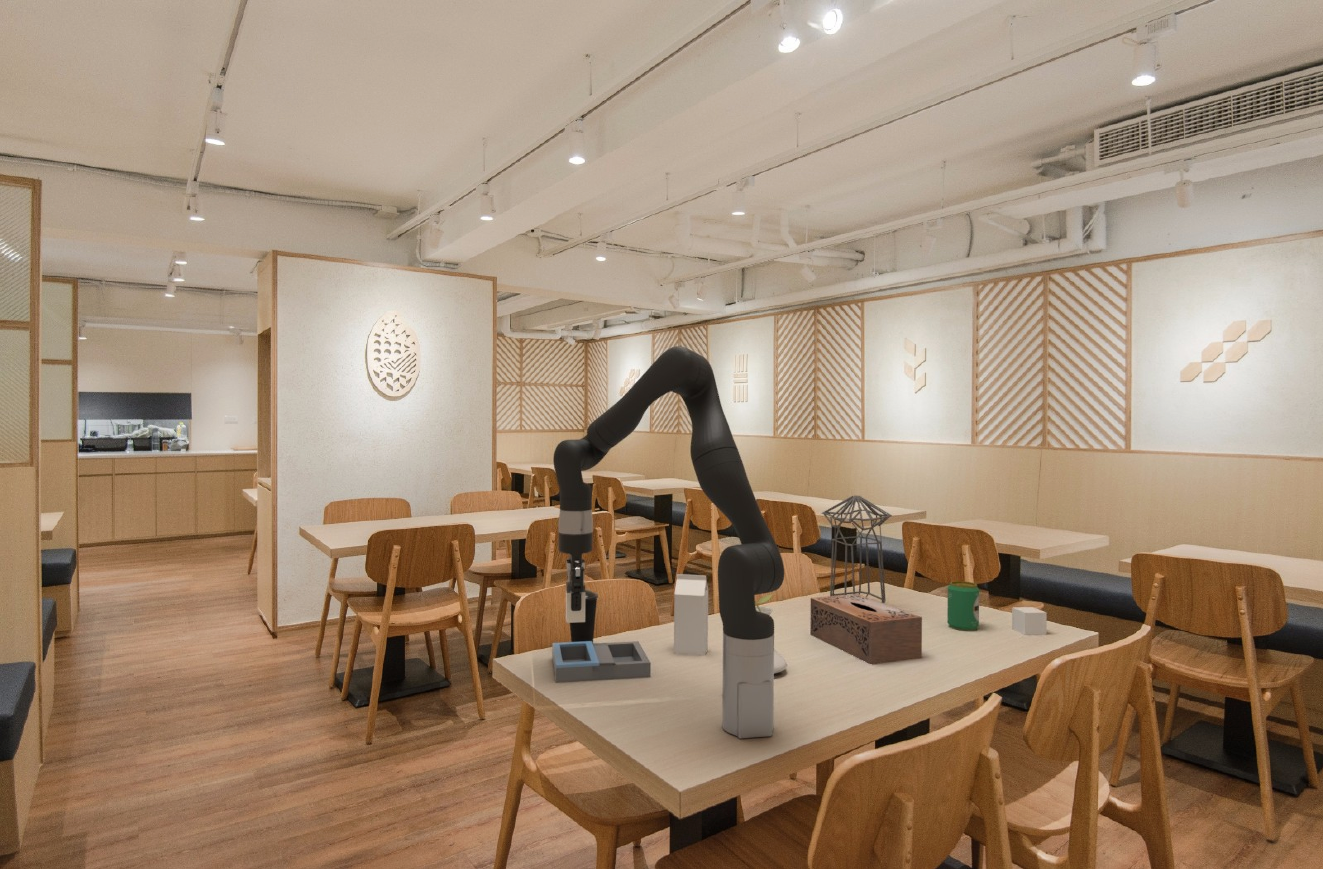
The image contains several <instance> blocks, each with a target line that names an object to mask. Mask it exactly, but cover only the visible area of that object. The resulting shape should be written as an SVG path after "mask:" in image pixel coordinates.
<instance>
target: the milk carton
mask: <svg viewBox="0 0 1323 869" xmlns="http://www.w3.org/2000/svg"><path fill="white" fill-rule="evenodd" d="M675 581H676V582H675V588H674V593H673V598H674V599H673V600H674V601H673V602H674V604H673V607H674V608H673V610H674V611H673V613H674V614H673V616H674V617H673V654H677V655H692V656H694V655H695V656H704V655H706V654H707V651H708V650H709V643H708V642H709V587H708V581H707V575H702V574H700V575H699V574H684V573H683V574H682V573H681V574H679V573H677V574H676V580H675Z"/></svg>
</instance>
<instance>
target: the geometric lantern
mask: <svg viewBox="0 0 1323 869" xmlns="http://www.w3.org/2000/svg"><path fill="white" fill-rule="evenodd" d="M856 503H857V508H858V509H856V510H855V506H856ZM843 504H844V505H843ZM840 506H841V507H840ZM838 507H840V508H839V509H838V510H837V511H833V510H834V509H836V508H838ZM861 507H862V508H863V509H862V508H861ZM846 510H847V511H846ZM863 511H864V512H865V513H866V515H867V516H868V518H863V515H862V512H863ZM854 513H856V514H855V515H854V516H853V514H854ZM821 515H823V516H824V517H825V518H826V519H827V521H828V522H829V524H830V527H832V528H834V538H832V539H831V541H832V542H831V560H830V563H831V567H830V587H829V588H830V591H829V596H839V595H850V594H859V595H861V594H863V595H866V596H865V597H867V598H868V597H869V595H870V596H872V597H874V598H876V599H879V600H881V601H880V602H881V603H884V604H886V601H887V600H886V586H885V573H884V572H885V571H884V570H885V569H884V556H883V544H882V543H883V540H882V528H881V526H882V525H883V524H884V523H885V522H886V521H887V520H888V519H889V518H890V517H892V516H893V515H892V514H890V513H888V512H887V511H886V510H883V509H882V508H881V507H880V506H877V505H875V504H874V503H872V502H871V501H869V500H867V499H866V498H864V497H862V496H861V495H851V496H849V497H847V498H846V499H845V500H842V501H841V502H839V503H837V504H835V505H833V506H832V507H830V508H828V509H826V510H824V511H823V512H821ZM843 515H844V517H843ZM848 515H849V518H848ZM872 515H873V516H875V518H873V516H872ZM828 516H829V517H830V518H829V517H828ZM858 516H859V517H858ZM833 520H834V523H833ZM878 520H879V521H878ZM837 521H838V522H839V523H838V524H837ZM856 521H861V525H859V523H857V522H856ZM868 521H870V525H871V526H870V527H864V522H868ZM843 523H845V524H852V526H853V527H854V528H855V530H857V532H858V535H856V536H847V537H846V536H844V535H843V533H842V531H841V526H842V524H843ZM877 526H878V527H879V537H880V540H879V539H878V537H877V535H876V532H875V527H877ZM857 527H858V528H857ZM836 529H837V530H836ZM859 529H860V530H861V531H860V530H859ZM867 530H868V531H867ZM863 531H867V533H866V535H865V536H864V535H862V533H863ZM871 531H872V534H873V536H874V538H875V539H874V538H871V537H869V536H870V533H871ZM839 535H840V536H841V537H838V536H839ZM846 539H854V540H853V542H852V544H851V543H847V541H846ZM858 539H859V543H856V541H857V540H858ZM863 539H865V542H863ZM839 540H843V541H839ZM868 540H872V541H875V542H868ZM838 543H839V544H842V545H845V546H844V547H845V548H844V549H845V553H844V554H845V556H844V561H845V562H844V592H839V593H835V586H836V585H835V584H836V582H835V580H836V566H837V565H836V564H837V554H838V553H837V552H838V548H837V547H838ZM868 545H876V549H877V560H878V561H877V562H878V563H877V564H878V573H879V584H880V594H881V595H880V596H881V597H880V596H878V595H875V594H874V593H871V591H870V590H871V588H870V587H871V586H870V566H869V563H870V562H869V547H868ZM854 546H859V577H858V578H859V579H858V580H859V583H858V584H859V585H858V590H857V591H856V585H855V584H856V582H855V581H856V580H855V564H854V563H855V562H854ZM863 546H865V556H866V578H867V592H866V591H862V560H863V559H862V554H863V553H862V552H863ZM848 547H850V551H851V553H850V556H851V557H850V558H851V575H852V576H851V577H852V591H850V592H847V588H848V587H847V582H848V581H847V580H848V579H847V578H848V577H847V576H848V573H847V572H848Z"/></svg>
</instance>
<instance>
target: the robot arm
mask: <svg viewBox="0 0 1323 869" xmlns="http://www.w3.org/2000/svg"><path fill="white" fill-rule="evenodd" d="M670 392H672V393H674V394H676V395H679V396H680V397H681V399H682V400H683V402H684V404H685V407H686V409H687V411H688V415H689V417H690V418H689V419H690V421H691V429H692V430H691V437H690V438H691V439H690V448H689V449H690V450H689V451H690V459H691V463H692V466H693V469H694V473H695V475H696V476H695V477H696V479H697V481H698V484H699V487H700V489H701V490H702V493H704V495H705V496H706V498H708V499H709V501H710V502H712V504H713V505H714V506H715V507H716V508H717V509H718V510H719V511H720V512H721V513H722V514H723V515H724V516H725V517H726V518H727V520H728V521H729V522H730V523H731V525H732V527H733V528H734V530H735V532H736V534H737V536H738V540H739V541H740V544H734V545H729V546H726V548H724V549H723V551H722V552H721V554H720V555H719V559H718V564H717V588H718V590H717V591H718V608H719V609H718V610H719V616H720V619H721V623H722V690H721V691H722V694H721V696H722V699H721V700H722V702H721V704H722V707H721V708H722V709H721V710H722V712H721V714H722V715H721V718H722V719H721V723H722V724H721V725H722V728H723V730H724V731H725V732H727V733H728V734H731V735H733V736H735V737H737V738H739V739H750V738H751V739H752V738H762V737H772V736H773V732H774V731H773V730H774V726H775V725H774V723H775V722H774V714H775V713H774V710H775V708H774V704H775V703H774V700H775V699H774V698H775V697H774V696H775V694H774V691H775V690H774V689H775V687H774V686H775V682H774V680H775V675H774V649H775V621H774V618H773V617H772V616H771V614H770V615H768V614H765V613H762V612H758V611H757V610H756V607H757V606H756V604H755V601H756V600H755V598H756V597H755V596H757V595H762V594H763V595H764V594H768V593H773V592H776V591H777V590H779V589H780V588H781V586H782V585H783V582H784V579H785V565H784V562H783V557H782V555H781V553H780V550H779V548H778V545H777V543H776V541H775V538H774V536H773V535H772V532H771V530H770V528H769V527H768V525H767V522H766V520H765V518H764V516H763V514H762V512H761V509H760V507H759V504H758V501H757V499H756V497H755V493H754V492H753V489H752V486H751V484H750V481H749V478H748V475H747V472H746V469H745V465H744V463H743V460H742V457H741V454H740V451H739V449H738V446H737V443H736V441H735V438H734V436H733V433H732V431H731V428H730V425H729V423H728V420H727V417H726V414H725V412H724V410H723V406H722V403H721V399H720V394H719V390H718V386H717V381H716V377H715V374H714V370H713V368H712V365H711V364H710V362H709V360H707V359H706V357H704V356H703V355H701V354H699V353H697V352H695V351H693V350H691V349H690V348H687V347H685V346H681V345H680V346H679V345H678V346H677V345H675V346H671V347H669V348H668V349H667V350H665V351H664V352H662V354H661V355H659V357H658V358H656V360H654V362H653V363H652V364H651V365H650V366H649V368H647V370H646V371H645V372H644V373H643V374H642V375H641V376H640V377H639V378H638V379H637V381H636V382H635V383H634V384H633V385H632V386H631V387H630V388H629V390H628V391H627V392H626V393H625V394H624V395H623V396H622V397H621V398H620V399H619V400H617V402H615V404H612V406H611V407H609V408H608V409H607V410H606V411H604V412H603V413H602V414H601V415H599V416H598V417H597V418H596V419H594V420H593V421H592V422H591V423H590V424H589V425H588V427H587V430H586V434H585V435H584V436H583V437H581V438H579V439H564V440H562V441H560V442H559V443H558V444H557V445H556V447H555V449H554V453H553V462H552V463H553V468H554V472H555V478H556V481H557V485H558V488H559V514H558V515H559V516H558V544H557V545H558V546H557V547H558V551H559V552H560V553H562V554H565V555H567V554H569V557H567V559H565V566H566V578H567V582H569V583H570V584H571V590H570V592H571V610H572V611H580V610H581V593H582V592H583V582H584V583H585V569H586V561H585V558H583V554H589V553H591V552H593V549H594V548H593V547H594V519H593V490H592V486H591V485H590V484H589V483H587V482H584V478H583V473H582V472H584V471H588V470H591V469H592V468H594V467H596V466H597V465H598V464H600V462H601V461H602V460H603V459H604V458H605V456H607V455H608V453H609V452H610V451H611V449H612V448H614V447H616V446H617V445H618V444H619V443H621V442H622V441H623V440H624V439H626V438H627V437H628V436H630V435H631V434H632V433H633V432H634V430H636V428H637V427H638V426H639V424H640V423H641V420H642V419H643V416H644V415H645V413H646V411H647V409H649V407H650V406H651V405H652V404H653V403H655V401H656V400H658V399H659V398H662V397H663V396H664V395H666V394H668V393H670ZM575 583H580V587H574V584H575Z"/></svg>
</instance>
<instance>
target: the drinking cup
mask: <svg viewBox="0 0 1323 869" xmlns="http://www.w3.org/2000/svg"><path fill="white" fill-rule="evenodd" d="M598 598H599V594H598V593H596V592H594V591H592V590H589V589H585V622H574V623H569V630H570V642H583V641H592V644H594V636H595V635H594V634H595V624H596V615H597V614H596V613H597V612H596V611H597V603H598Z"/></svg>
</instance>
